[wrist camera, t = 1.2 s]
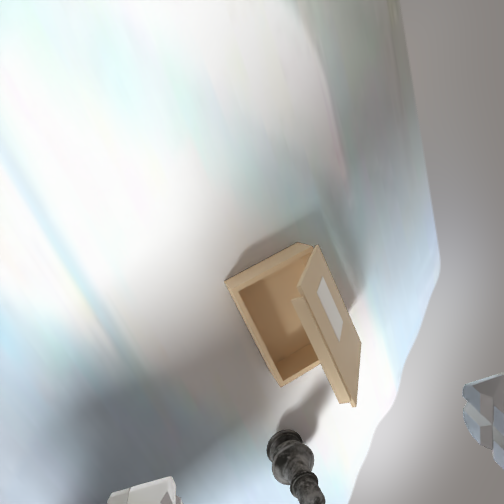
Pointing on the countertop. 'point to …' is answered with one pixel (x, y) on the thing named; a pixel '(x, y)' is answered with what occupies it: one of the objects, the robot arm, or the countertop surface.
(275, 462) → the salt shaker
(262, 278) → the mailer box
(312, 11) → the countertop surface
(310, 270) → the lid
